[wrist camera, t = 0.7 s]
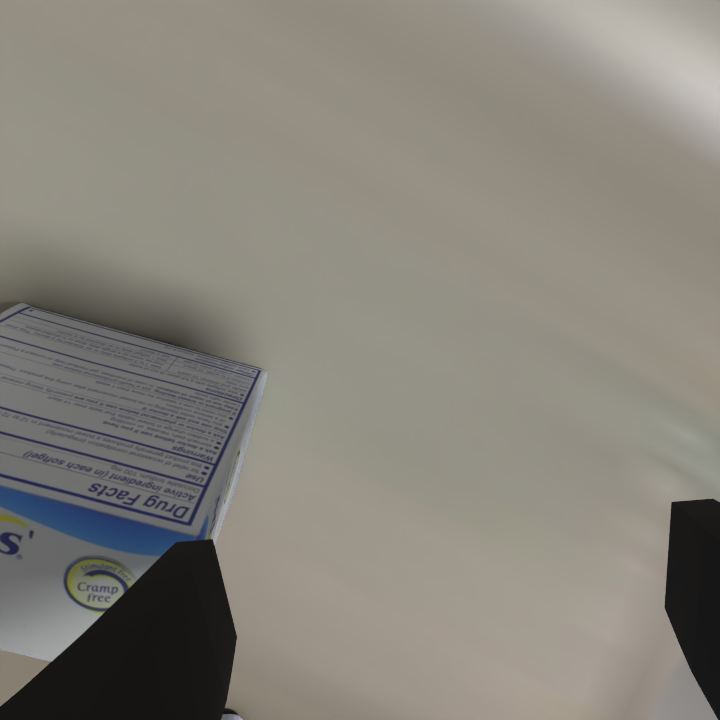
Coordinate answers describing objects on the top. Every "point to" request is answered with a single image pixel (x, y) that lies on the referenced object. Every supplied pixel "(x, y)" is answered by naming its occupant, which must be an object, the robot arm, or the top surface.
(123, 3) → the top surface
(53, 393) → the medicine box
